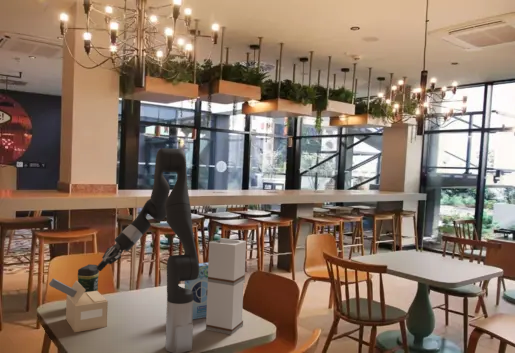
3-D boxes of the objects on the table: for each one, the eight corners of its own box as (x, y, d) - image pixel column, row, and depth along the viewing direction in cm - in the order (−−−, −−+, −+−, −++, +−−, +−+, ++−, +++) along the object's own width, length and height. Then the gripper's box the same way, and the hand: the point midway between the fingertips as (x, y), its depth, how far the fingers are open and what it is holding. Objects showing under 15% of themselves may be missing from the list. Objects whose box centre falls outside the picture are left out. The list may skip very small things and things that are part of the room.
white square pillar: (242, 325, 172) (246, 241, 171) (231, 334, 162) (235, 245, 161) (218, 320, 176) (221, 238, 175) (205, 329, 166) (209, 242, 165)
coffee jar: (91, 310, 182) (92, 268, 181) (73, 310, 182) (74, 267, 181) (100, 303, 191) (101, 263, 191) (83, 302, 191) (84, 262, 191)
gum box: (222, 310, 189) (224, 259, 189) (228, 313, 185) (230, 262, 185) (182, 317, 179) (184, 264, 178) (187, 321, 174) (189, 266, 174)
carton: (107, 326, 165) (107, 300, 165) (74, 332, 158) (75, 305, 158) (96, 313, 178) (96, 290, 178) (65, 318, 171) (66, 294, 171)
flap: (85, 290, 161) (61, 277, 156) (75, 304, 159) (50, 292, 154) (77, 281, 172) (54, 269, 167) (68, 294, 170) (44, 282, 165)
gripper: (117, 229, 181) (87, 260, 174) (127, 234, 170) (95, 267, 163) (129, 240, 184) (100, 271, 177) (140, 246, 173) (109, 279, 166)
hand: (98, 269), depth 170 cm, fingers closed
